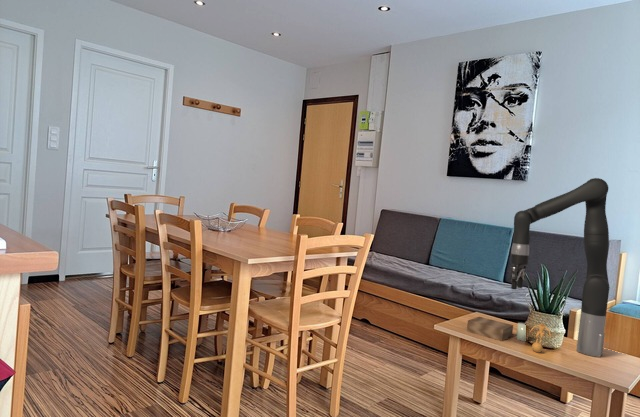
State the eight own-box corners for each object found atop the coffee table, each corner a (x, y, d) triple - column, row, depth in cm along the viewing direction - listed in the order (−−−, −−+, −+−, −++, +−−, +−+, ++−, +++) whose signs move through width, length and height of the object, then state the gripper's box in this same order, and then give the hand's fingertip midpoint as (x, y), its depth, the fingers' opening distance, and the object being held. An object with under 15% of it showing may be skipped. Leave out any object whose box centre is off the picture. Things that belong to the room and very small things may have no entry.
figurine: (524, 349, 188) (527, 321, 188) (530, 347, 192) (534, 319, 192) (545, 356, 182) (548, 326, 182) (551, 353, 186) (554, 325, 186)
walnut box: (512, 335, 208) (513, 325, 208) (501, 340, 198) (503, 329, 197) (478, 326, 219) (479, 316, 218) (466, 331, 208) (467, 320, 208)
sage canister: (529, 340, 204) (531, 325, 204) (526, 342, 200) (528, 326, 200) (517, 337, 207) (519, 322, 207) (514, 339, 203) (516, 323, 203)
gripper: (523, 255, 201) (520, 291, 201) (533, 254, 211) (530, 288, 212) (506, 252, 206) (503, 288, 206) (516, 252, 216) (513, 285, 216)
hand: (516, 288), depth 209 cm, fingers open, 8 cm apart
